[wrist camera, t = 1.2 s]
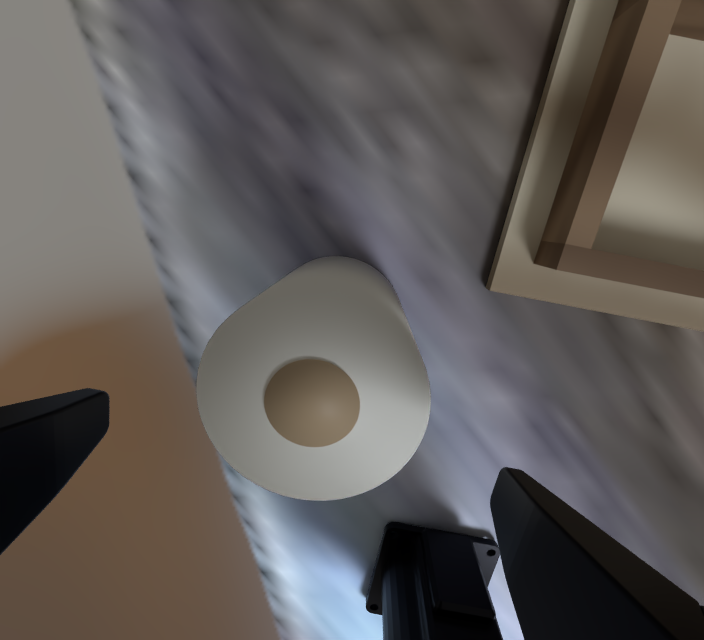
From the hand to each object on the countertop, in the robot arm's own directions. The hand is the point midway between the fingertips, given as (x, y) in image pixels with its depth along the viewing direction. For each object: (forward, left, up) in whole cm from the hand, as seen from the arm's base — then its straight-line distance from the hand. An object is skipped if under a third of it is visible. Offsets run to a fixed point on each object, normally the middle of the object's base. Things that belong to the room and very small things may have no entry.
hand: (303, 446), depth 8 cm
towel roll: (0, 0, -10) cm, 10 cm away
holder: (+10, -13, -10) cm, 19 cm away
